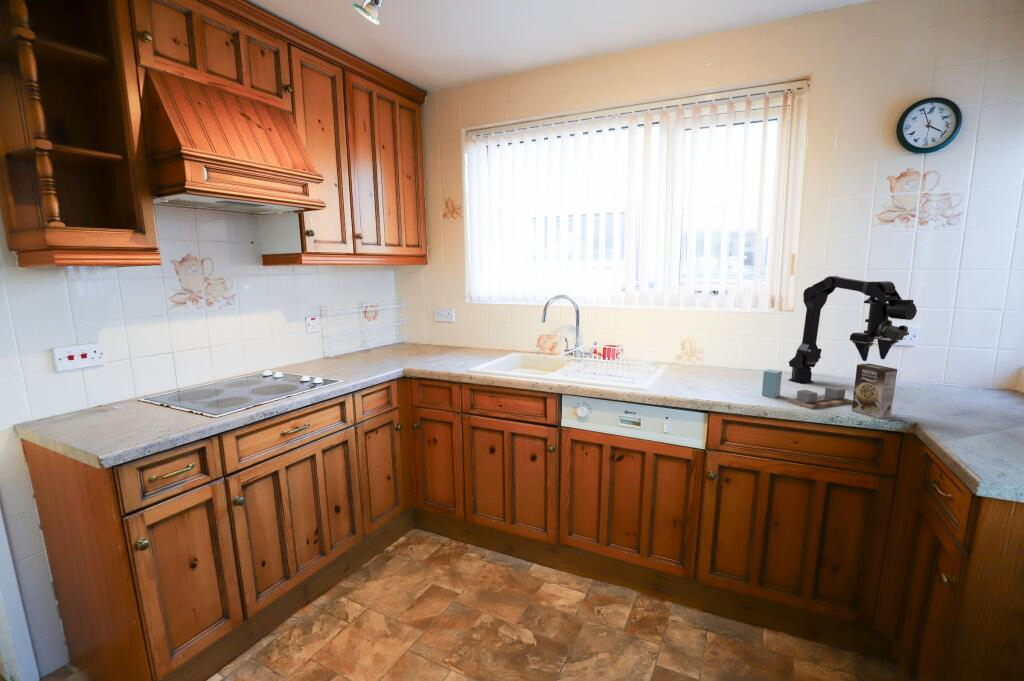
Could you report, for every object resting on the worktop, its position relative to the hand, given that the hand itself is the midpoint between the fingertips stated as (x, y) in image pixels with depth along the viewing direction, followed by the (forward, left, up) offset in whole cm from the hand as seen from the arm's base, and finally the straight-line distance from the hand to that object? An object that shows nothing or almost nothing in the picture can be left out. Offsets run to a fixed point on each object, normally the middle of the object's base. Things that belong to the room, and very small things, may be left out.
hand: (873, 360), depth 173 cm
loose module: (-16, -29, -15) cm, 36 cm away
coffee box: (+12, -16, -15) cm, 25 cm away
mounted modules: (-3, -20, -13) cm, 24 cm away
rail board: (-3, -20, -15) cm, 25 cm away
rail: (-3, -20, -15) cm, 25 cm away
